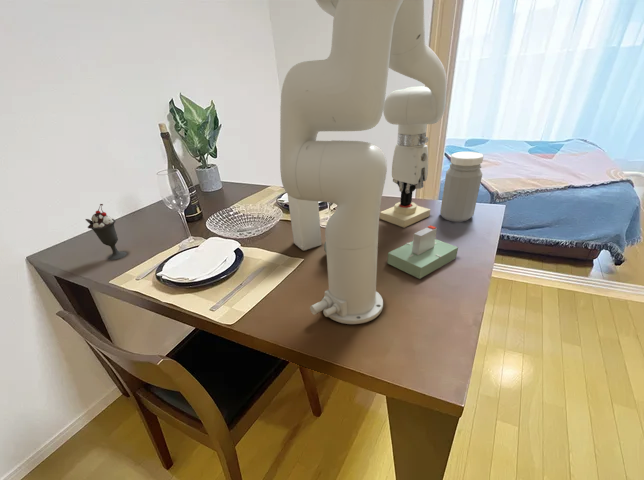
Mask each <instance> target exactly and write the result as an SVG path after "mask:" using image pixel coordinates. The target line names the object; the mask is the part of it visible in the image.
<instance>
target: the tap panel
mask: <svg viewBox="0 0 644 480" xmlns="http://www.w3.org/2000/svg"><path fill="white" fill-rule="evenodd" d="M412 247H413V240H411V241H409V242H406V243H405V244H403V245H401V246H399V247H397V248H395V249H393V250H391V251H389V252H387V262H386V263H387V264H388V265H389V266H392V267H393V268H396V269H398V270H400V271H402V272H404V273H407V274H408V275H410V276H413V277H415V278H417V279H419V280H420V279H422V278H424V277H426V276H427V275H430V274H431V273H433V272H435V271H436V270H438V269H440V268H441V267H443V266H445V265H447V264H448V263H450V262H452V261H453V260H455V259H457V255H458V250H459V247H458V246H456V245H453V244H450V243H448V242H446V241H442V240H439V239H437V238H435V245H434V247H433V248H431V249H429V250H427V251H426V252H424V253H422V254H420V255H417V254H414V253H412Z"/></svg>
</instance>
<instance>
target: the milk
mask: <svg viewBox="0 0 644 480" xmlns="http://www.w3.org/2000/svg"><path fill="white" fill-rule="evenodd" d="M287 202H288V208H289V218H290V224H291V225H290V226H291V233H292V239H293V244H294V245H295V246H296V247H298V248H299V249H300V250H301V251H302V252H303V251H307V250H311V249H314V248H317V247H321V246H322V232H321V231H322V230H321V220H320V219H321V217H320V204H319V203H320V202H318V201H307V200H300V199H295V198H293V197H291V196H289V195H288V194H287Z"/></svg>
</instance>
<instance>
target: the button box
mask: <svg viewBox="0 0 644 480" xmlns="http://www.w3.org/2000/svg"><path fill="white" fill-rule="evenodd" d="M400 202H401V201H398V202H395V204H394V206H391V207H389V208H387V209H384V210H382V211H381V210H380V213H379V220H383V221H385V222H388V223H390V224H393V225H396V226H398V227H401V228H407V227H408V226H411V225H413V224H416V223H417V222H420V221H423V220H424V219H426V218H429V217H430V216H431V215H430V214H431V209H430V208H427V207H424V206H420V205H418V204H417V203H415V202H414V201H413V202H412V201H411V205H412V206H411V207H408V208H403V207H400Z"/></svg>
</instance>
